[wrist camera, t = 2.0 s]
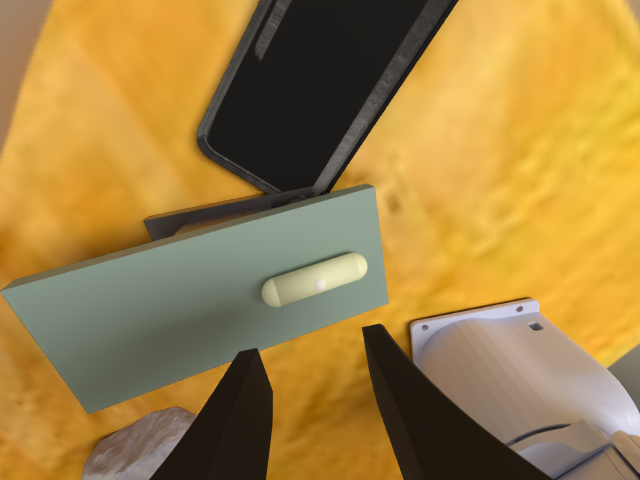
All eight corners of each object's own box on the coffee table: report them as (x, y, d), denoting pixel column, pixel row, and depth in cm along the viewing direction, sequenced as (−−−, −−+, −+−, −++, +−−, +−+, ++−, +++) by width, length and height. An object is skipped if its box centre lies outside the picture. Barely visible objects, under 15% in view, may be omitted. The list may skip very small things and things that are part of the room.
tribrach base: (311, 183, 18) (314, 197, 15) (332, 281, 21) (337, 309, 18) (149, 216, 18) (121, 236, 16) (190, 310, 21) (173, 342, 18)
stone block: (189, 377, 26) (84, 442, 26) (180, 427, 22) (54, 506, 21) (262, 448, 31) (176, 504, 31) (267, 501, 27) (166, 567, 26)
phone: (487, -43, 14) (311, 219, 18) (474, -33, 15) (310, 213, 20) (349, -191, 12) (187, 145, 16) (344, -167, 13) (193, 143, 17)
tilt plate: (358, 180, 17) (389, 192, 14) (374, 287, 20) (402, 317, 16) (27, 270, 13) (-29, 312, 10) (101, 384, 16) (75, 443, 13)
